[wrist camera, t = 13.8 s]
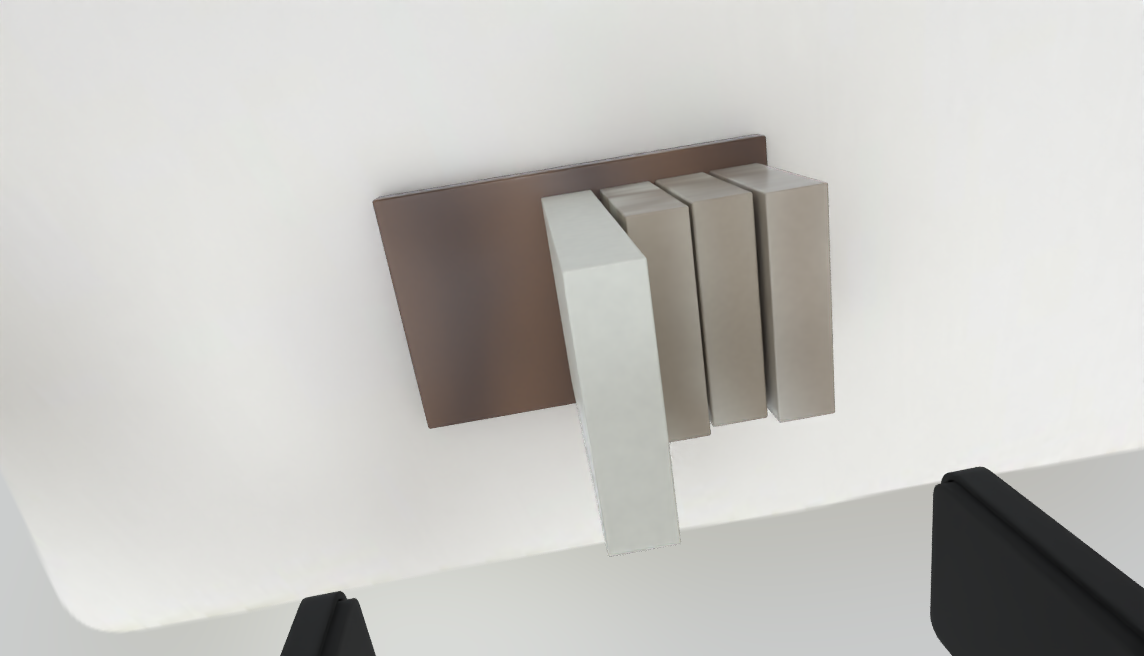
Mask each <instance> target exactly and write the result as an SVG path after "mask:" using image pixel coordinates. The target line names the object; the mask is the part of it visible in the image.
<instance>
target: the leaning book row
mask: <svg viewBox="0 0 1144 656" xmlns="http://www.w3.org/2000/svg"><path fill="white" fill-rule="evenodd" d="M585 190H591V191H592V192H593V193H594V195H595V196H596V197H597V198H598V200H599V201H600V202H601V203H602V204H603V206H604V207H605V208H606V209H607V211H608V212H609V213H610V214H611V215H612V217H613V218H614V219H615V220H616V222H617V223H618V224H619V225H620V227H621V228H622V229H623V230H624V231H625V233H626V234H627V235H628V236H629V238H630V239H631V240H632V241H633V242H634V244H635V245H636V246H637V247H638V249H639V250H640V251H641V252H642V253H643V255H644V256H645V257H646V259H647V266H648V275H649V283H650V291H651V299H652V308H653V316H654V324H655V332H656V341H657V349H658V357H659V365H660V374H661V382H662V390H663V398H664V407H665V415H666V423H667V431H668V440H669V442H674V441H680V440H686V439H691V438H697V437H702V436H708V435H710V434H711V431H710V422H711V423H712V425H713V426H715V427H716V426H721V425H727V424H733V423H738V422H744V421H749V420H755V419H761V418H766V417H767V415H768V414H767V408H768V409H769V410H770V411H771V413H772V414H773V415H774V416H775V418H776V419H777V420H778V421H779V422H787V421H792V420H798V419H804V418H809V417H815V416H820V415H826V414H832V413H835V398H834V366H833V334H832V302H831V270H830V238H829V206H828V184H827V183H826V182H823V181H819V180H816V179H812V178H809V177H805V176H802V175H798V174H795V173H791V172H787V171H784V170H780V169H777V168H773V167H770V166H767V149H766V137H765V136H764V135H758V134H754V135H748V136H742V137H736V138H730V139H724V140H718V141H712V142H706V143H700V144H694V145H688V146H682V147H676V148H670V149H664V150H658V151H652V152H646V153H640V154H634V155H628V156H622V157H616V158H610V159H604V160H598V161H592V162H586V163H580V164H574V165H568V166H562V167H556V168H550V169H544V170H538V171H532V172H526V173H520V174H514V175H508V176H502V177H496V178H490V179H484V180H478V181H472V182H466V183H460V184H454V185H447V186H441V187H435V188H429V189H423V190H417V191H411V192H405V193H399V194H393V195H387V196H381V197H378V198H376V199H375V200H374V201H373V206H374V210H375V214H376V218H377V222H378V226H379V230H380V234H381V238H382V242H383V246H384V250H385V255H386V259H387V263H388V267H389V271H390V275H391V279H392V283H393V287H394V291H395V295H396V299H397V303H398V307H399V311H400V315H401V319H402V323H403V327H404V331H405V335H406V339H407V343H408V347H409V351H410V355H411V359H412V363H413V368H414V372H415V376H416V380H417V384H418V388H419V392H420V396H421V400H422V404H423V408H424V412H425V416H426V420H427V424H428V427H429V428H430V429H431V428H437V427H442V426H448V425H454V424H459V423H465V422H471V421H476V420H482V419H488V418H493V417H499V416H505V415H511V414H516V413H522V412H528V411H533V410H539V409H545V408H550V407H556V406H562V405H567V404H573V403H576V400H575V395H574V390H573V385H572V380H571V374H570V369H569V363H568V357H567V351H566V345H565V339H564V333H563V327H562V321H561V315H560V309H559V303H558V297H557V291H556V285H555V279H554V273H553V267H552V261H551V255H550V249H549V243H548V237H547V231H546V225H545V219H544V214H543V208H542V202H541V198H544V197H550V196H556V195H562V194H567V193H573V192H579V191H585ZM709 420H710V421H709Z"/></svg>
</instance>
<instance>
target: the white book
mask: <svg viewBox="0 0 1144 656" xmlns="http://www.w3.org/2000/svg"><path fill="white" fill-rule="evenodd" d="M541 202H542V208H543V214H544V219H545V225H546V231H547V237H548V243H549V249H550V255H551V261H552V267H553V273H554V279H555V285H556V291H557V297H558V303H559V309H560V315H561V321H562V327H563V333H564V339H565V345H566V351H567V357H568V363H569V369H570V374H571V380H572V385H573V390H574V395H575V400H576V405H577V409H578V414H579V419H580V424H581V429H582V433H583V438H584V443H585V448H586V453H587V457H588V462H589V467H590V472H591V477H592V481H593V486H594V491H595V496H596V501H597V505H598V510H599V515H600V520H601V525H602V529H603V534H604V539H605V544H606V548H607V553H608V556H609V557H611V556H617V555H621V554H628V553H633V552H638V551H644V550H649V549H655V548H661V547H666V546H672V545H677V544H680V543H681V539H680V530H679V522H678V514H677V506H676V497H675V489H674V481H673V473H672V464H671V456H670V448H669V440H668V431H667V423H666V415H665V407H664V398H663V390H662V382H661V374H660V365H659V357H658V349H657V341H656V332H655V324H654V316H653V308H652V299H651V291H650V283H649V275H648V266H647V259H646V257H645V256H644V255H643V253H642V252H641V251H640V250H639V249H638V247H637V246H636V245H635V244H634V242H633V241H632V240H631V239H630V238H629V236H628V235H627V234H626V233H625V231H624V230H623V229H622V228H621V227H620V225H619V224H618V223H617V222H616V220H615V219H614V218H613V217H612V215H611V214H610V213H609V212H608V211H607V209H606V208H605V207H604V206H603V204H602V203H601V202H600V201H599V200H598V198H597V197H596V196H595V195H594V193H593V192H592V191H591V190H585V191H579V192H573V193H567V194H562V195H556V196H550V197H544V198H541Z"/></svg>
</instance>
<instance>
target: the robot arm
mask: <svg viewBox="0 0 1144 656" xmlns="http://www.w3.org/2000/svg"><path fill="white" fill-rule="evenodd" d="M931 569H932V570H931V607H930V616H931V622H932V626H933V629H934V631H935V633H936V635H937V637H938V638H939V640H940V641H941V642H942V644H943V645H944V646H945V648H946V649H947V650H948V651H949V652H950V654H951V655H952V656H1144V588H1143V587H1141V586H1140V585H1139V584H1137V583H1136V582H1135V581H1133V580H1132V579H1131V578H1129V577H1128V576H1127V575H1126V574H1124V573H1123V572H1122V571H1120V570H1119V569H1118V568H1116V567H1115V566H1114V565H1113V564H1111V563H1110V562H1109V561H1107V560H1106V559H1105V558H1103V557H1102V556H1101V555H1099V554H1098V553H1097V552H1096V551H1094V550H1093V549H1092V548H1090V547H1089V546H1088V545H1086V544H1085V543H1084V542H1083V541H1081V540H1080V539H1079V538H1077V537H1076V536H1075V535H1073V534H1072V533H1071V532H1070V531H1068V530H1067V529H1066V528H1064V527H1063V526H1062V525H1060V524H1059V523H1057V522H1056V521H1055V520H1054V519H1053V518H1051V517H1050V516H1049V515H1047V514H1046V513H1045V512H1043V511H1042V510H1041V509H1040V508H1038V507H1037V506H1035V505H1034V504H1033V503H1032V502H1030V501H1029V500H1028V499H1026V498H1025V497H1024V496H1023V495H1021V494H1020V493H1019V492H1017V491H1016V490H1015V489H1013V488H1012V487H1011V486H1010V485H1008V484H1007V483H1006V482H1004V481H1003V480H1002V479H1000V478H999V477H997V476H996V475H995V474H994V473H993V472H991V471H990V470H988V469H986V468H985V467H975V468H970V469H965V470H960V471H955V472H950V473H947V474H945V475H944V476H943V478H942V481H941V484H938V485H936V486H935V488H934V493H933V527H932V566H931ZM280 656H376V655H375V652H374V649H373V645H372V642H371V639H370V636H369V633H368V630H367V627H366V623H365V620H364V617H363V614H362V611H361V608H360V605H359V602H358V600H357V599H355V598H352V599H347V598H346V596H345V594H344V593H343V592H341V591H338V592H333V593H327V594H322V595H317V596H312V597H307V598H304V599H303V600H302V602H301V604H300V606H299V608H298V611H297V614H296V616H295V619H294V621H293V624H292V626H291V629H290V632H289V634H288V637H287V640H286V642H285V645H284V647H283V650H282V653H281V655H280Z"/></svg>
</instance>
